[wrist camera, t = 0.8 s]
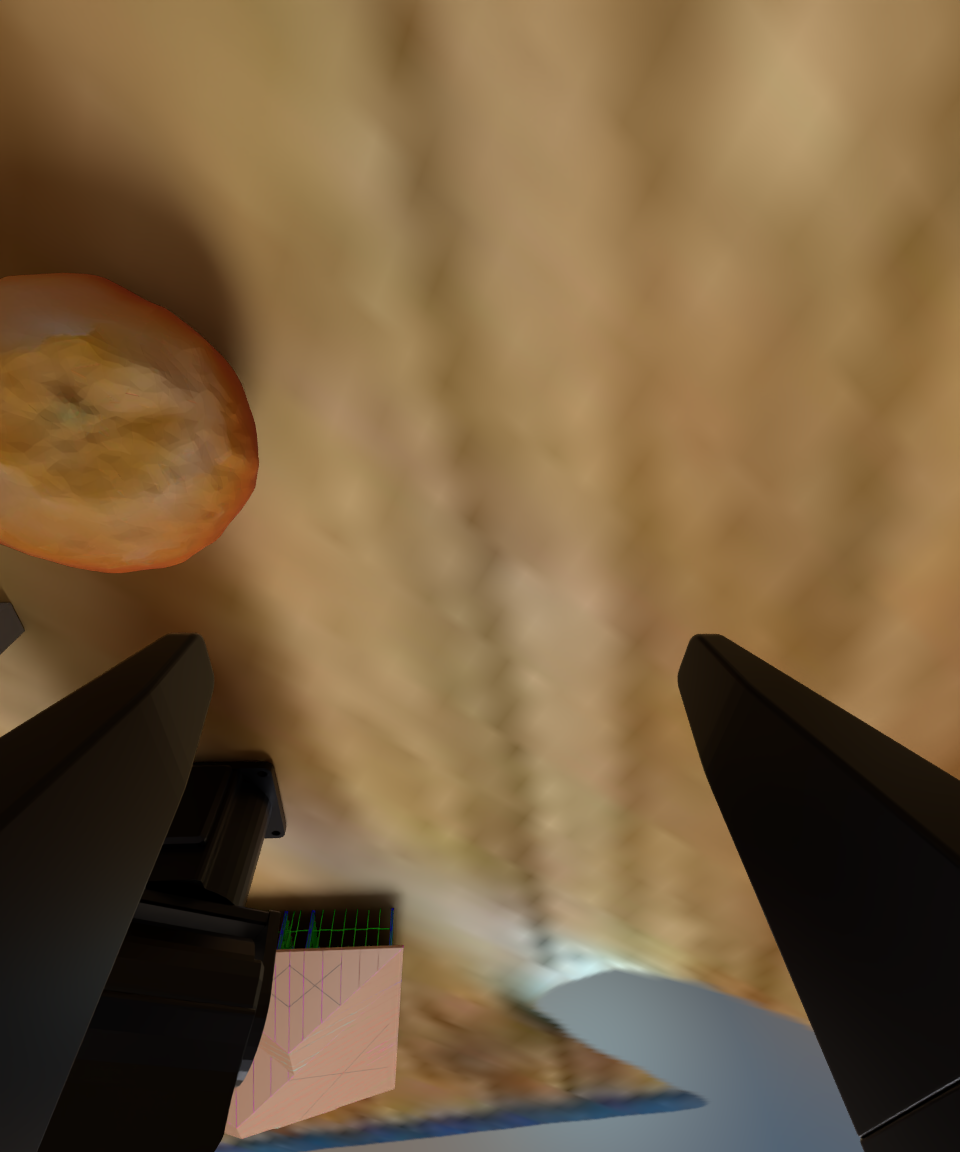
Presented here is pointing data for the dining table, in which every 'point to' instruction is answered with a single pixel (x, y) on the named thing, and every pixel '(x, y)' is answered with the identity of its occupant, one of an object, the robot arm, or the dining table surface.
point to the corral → (8, 626)
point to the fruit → (114, 428)
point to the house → (322, 1032)
